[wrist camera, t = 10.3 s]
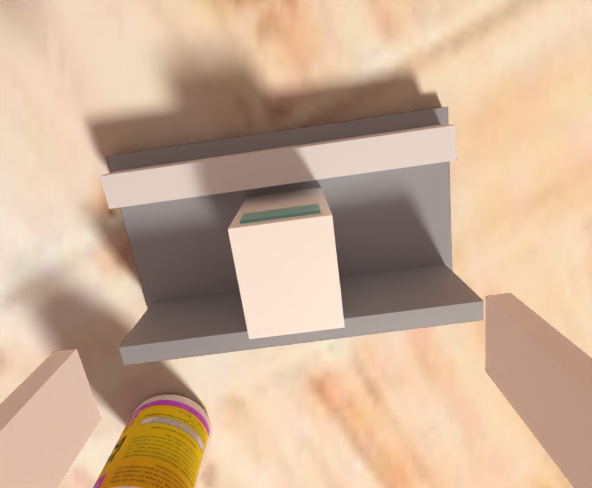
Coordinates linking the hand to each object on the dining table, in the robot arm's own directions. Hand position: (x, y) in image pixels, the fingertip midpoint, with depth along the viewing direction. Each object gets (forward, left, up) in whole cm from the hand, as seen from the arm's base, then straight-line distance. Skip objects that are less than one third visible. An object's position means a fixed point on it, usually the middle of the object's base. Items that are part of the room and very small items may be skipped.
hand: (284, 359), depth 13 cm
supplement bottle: (+15, -12, -17) cm, 26 cm away
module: (0, 0, -15) cm, 15 cm away
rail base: (-1, 0, -16) cm, 16 cm away
